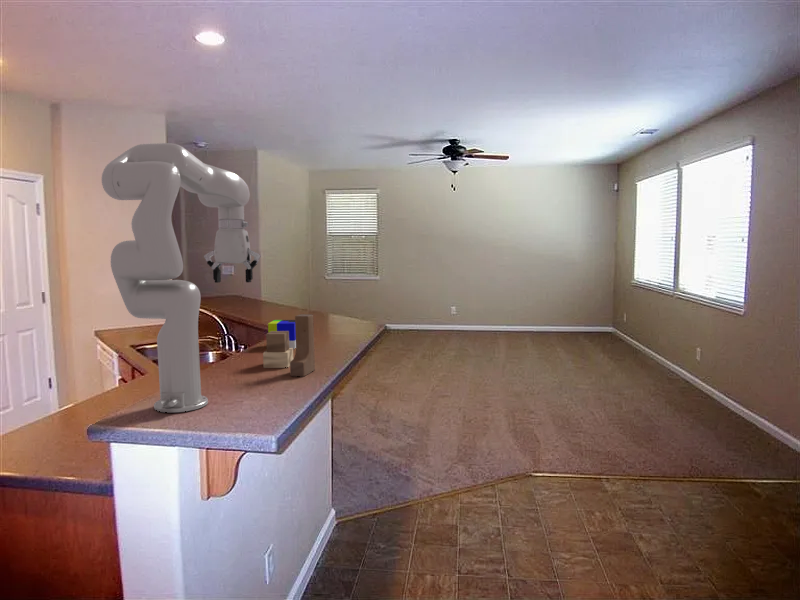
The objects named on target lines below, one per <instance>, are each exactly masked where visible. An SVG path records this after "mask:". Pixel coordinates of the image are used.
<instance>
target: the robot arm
mask: <svg viewBox="0 0 800 600" xmlns="http://www.w3.org/2000/svg"><path fill="white" fill-rule="evenodd" d="M101 185H102V188H103V191H105V193H106V194H107V195H108V196H109V197H111V199H114V200H118V201H140V202H139V204H138V206H137V208H136V210H135V211H134V213H133V216H132V219H131V223H130V225H131V231H132V234H133V237H134V239H133V240H131V239H130V240H124V241H121V242H118V243H117V244H116V245H115V246H114V247H113V248H112V250H111V254H110V268H111V273H112V275H113V278H114V281H115V283H116V286H117V289H118V290H119V294H120V297H121V300H123V303H124V305H125V308H126V310H127V311H128V313H129V314H130V315H131V316H132V317H134V318H137V319H147V320H148V319H149V320H150V319H152V320H153V319H154V320H156V319H158V320H159V319H161V320H165V321H164V323H163V324H162V326H161V328H160V329H159V331H158V334H157V337H156V347H157V362H158V383H159V396H160V397H159V400H156V401H155V403H154V404H153V409H154V411H156V410H157V411H156V412H159V411H160V412H159V413H165V412H167V414H168V413H169V414H171V413H172V414H174V413H185V411H186V412H191V411H195V410H198V409H202V408H203V407H205V406H206V405H207V404H208V403H209V399H208V397H207V396H205V395H202V386H201V383H202V382H201V367H200V348H199V347H200V345H199V344H200V343H199V316H200V308H201V301H202V299H201V291H200V288H199V287H198V286H197V285H196V284H195V283H193V282H191V281H188V280H181V279H176V278H178V277H179V276H181V275H182V273H183V271H184V262H183V256H182V253H181V250H180V246H179V243H178V240H177V237H176V233H175V230H174V226H173V222H172V221H173V220H172V216H173V210H174V206H175V203H176V202H175V201H176V200H177V197H178V194H179V191H180V188H182V189H183V190H185V191H186V192H189V193H192V194H197V198H198V199H199V202H200V203H201V204H202V205H203V206H205V207H206V208H207V207H208V208H217V209H218V210H217V216H218V217H217V218H218V230H216V233H215V237H214V238H215V239H214V249H213V250H212V251H209V252H208V253H206V254H204V255H203V258H204V259H205V261H206V263H207V265H208V266H209V267H210V268H211V270H212V272H213V273H212V275H213V276H212V277H213V278H212V279H213V281H214V283H221V282H222V278H221V277H222V276H221V269H220V267H221V266H222V265H223V264H243V265H244V266H245V267H246V269H244V270H245V271H244V272H245V282H246V283H252V280H253V277H254V275H253V273H254V272H253V269H254V268H255V267H256V266H257V265H258V264H259V261H260V259H261V257H262V255H261V254H260V253H258V252H256V251H254V250H252V249H251V244H250V237H249V233H248V230H245V229H246V228H247V227H249V226H250V223H249V221H246V220H245V206H247V204H248V203H249V200H250V198H251V193H250V188H249V185H248V183H246V181H245V180H244V179H243V178H242V177H240V175H238V174H236V173H234V172H233V171H230V170H227V169H224V168H220V167H217V166H214V165H212V164H207V163H204V162H203V161H201V159H199V158H198V157H197V156H195V155H194V154H193V153H192V152H190V151H189V150H187V149H186V148H185V147H183V146H182V145H179V144H177V143H171V142H159V143H141V144H137V145H134V146H132V147H130V148H129V149H127V150H125V151H124V152H123V153H121V154H120V155H118V156H117V157H115V158H114V159H113V160H111V161H110V162H108V164H106V166H105V168H104V169H103V171H102V173H101ZM212 257H214V261H215V262H214V261H213V260H212ZM252 257H254V258H253V260H252ZM251 260H252V261H251Z"/></svg>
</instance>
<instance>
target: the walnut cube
mask: <svg viewBox="0 0 800 600" xmlns="http://www.w3.org/2000/svg"><path fill="white" fill-rule="evenodd" d="M265 337H266V338H265V339H266V341H265V342H266V350H267V352H286V351H287V350H288V349H289V331H271V332H269V333H268V332H267V333H266V334H265Z"/></svg>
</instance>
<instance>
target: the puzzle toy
mask: <svg viewBox="0 0 800 600" xmlns="http://www.w3.org/2000/svg"><path fill="white" fill-rule="evenodd" d="M267 330H268V331H267V333H269V332H271V331H289V348H293V350H296V349H295V348H296V331H295V319H274V320H272V321H270V322H268V323H267Z"/></svg>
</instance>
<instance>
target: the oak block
mask: <svg viewBox="0 0 800 600" xmlns="http://www.w3.org/2000/svg"><path fill="white" fill-rule="evenodd" d="M262 359H263V360H262V361H263V362H262V363H263V369H287V367H288V368H290V362H291V361H292V360H293V359H294V349H293V348H289V349H288V350H287V351H286V352H267V349H266V350H265V351H264V352H262ZM285 367H286V368H285Z"/></svg>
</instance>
